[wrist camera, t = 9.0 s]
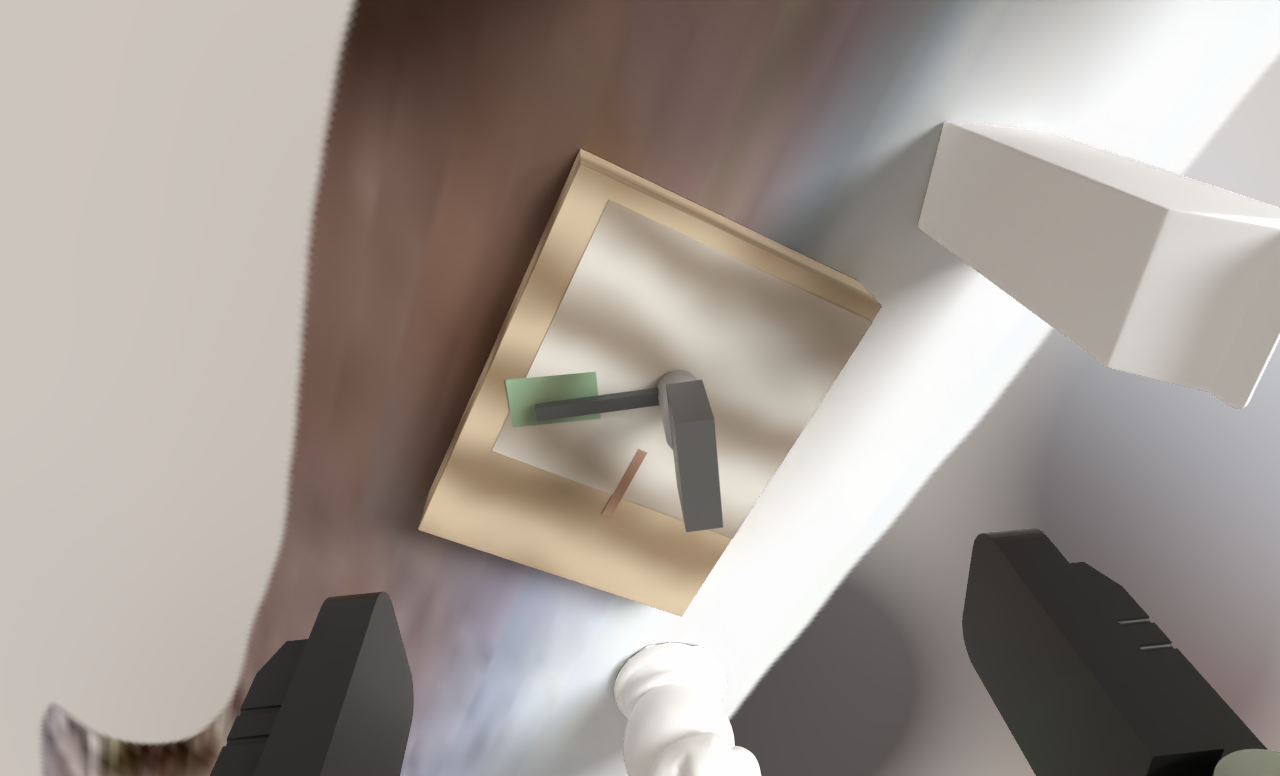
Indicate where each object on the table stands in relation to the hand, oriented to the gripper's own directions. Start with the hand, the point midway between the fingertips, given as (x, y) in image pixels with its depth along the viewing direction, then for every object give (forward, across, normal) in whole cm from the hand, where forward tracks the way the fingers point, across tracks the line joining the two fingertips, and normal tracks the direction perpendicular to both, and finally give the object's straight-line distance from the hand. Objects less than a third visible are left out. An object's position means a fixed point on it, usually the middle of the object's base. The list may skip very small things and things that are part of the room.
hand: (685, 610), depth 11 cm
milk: (+36, -21, +4) cm, 42 cm away
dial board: (+36, 0, +15) cm, 39 cm away
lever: (+32, +1, +13) cm, 34 cm away
